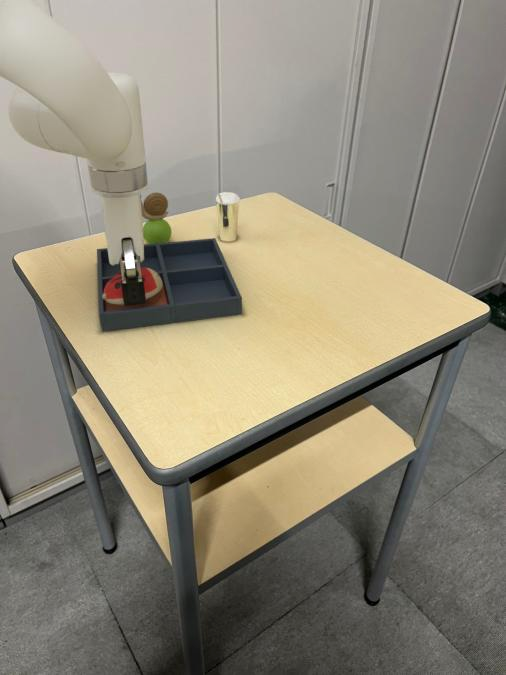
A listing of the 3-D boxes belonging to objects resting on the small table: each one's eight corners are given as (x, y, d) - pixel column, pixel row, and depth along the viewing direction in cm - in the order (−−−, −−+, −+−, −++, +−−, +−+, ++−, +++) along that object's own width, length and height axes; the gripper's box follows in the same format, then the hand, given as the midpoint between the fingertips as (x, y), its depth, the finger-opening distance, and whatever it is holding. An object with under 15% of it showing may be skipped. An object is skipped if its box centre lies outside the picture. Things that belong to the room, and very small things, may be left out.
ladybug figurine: (172, 292, 81) (170, 272, 79) (117, 315, 75) (113, 294, 73) (148, 276, 85) (145, 256, 83) (94, 297, 79) (90, 277, 77)
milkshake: (210, 241, 101) (208, 192, 95) (224, 231, 105) (223, 183, 99) (230, 246, 100) (229, 196, 94) (243, 236, 104) (244, 187, 98)
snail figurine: (135, 242, 100) (128, 182, 93) (167, 237, 103) (162, 177, 95) (143, 254, 96) (135, 192, 89) (176, 248, 99) (171, 187, 92)
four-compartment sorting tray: (102, 332, 77) (98, 314, 75) (99, 264, 93) (96, 248, 91) (241, 314, 81) (241, 297, 79) (215, 252, 98) (215, 237, 96)
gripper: (89, 158, 75) (106, 266, 86) (89, 202, 62) (110, 324, 72) (141, 155, 77) (152, 262, 87) (153, 198, 63) (164, 318, 74)
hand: (133, 289), depth 80 cm, fingers closed on ladybug figurine, 7 cm apart
